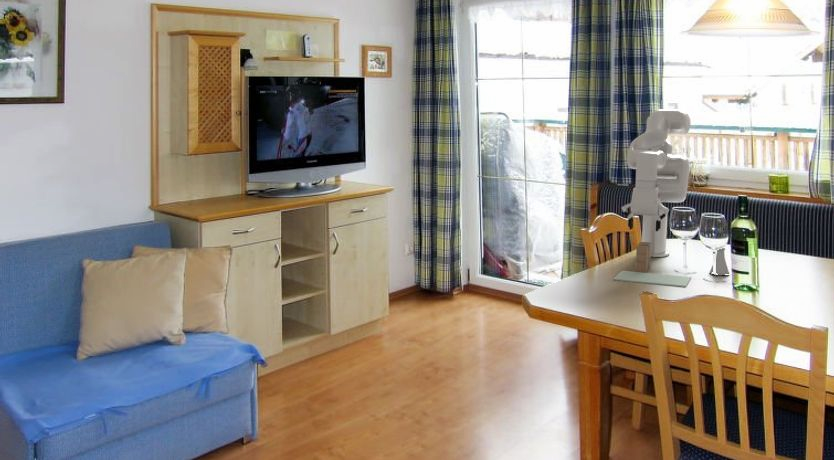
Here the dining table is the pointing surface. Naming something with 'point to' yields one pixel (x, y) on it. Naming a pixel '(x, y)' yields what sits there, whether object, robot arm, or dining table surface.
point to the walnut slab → (643, 256)
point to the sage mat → (653, 278)
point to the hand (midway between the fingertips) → (644, 229)
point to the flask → (720, 263)
